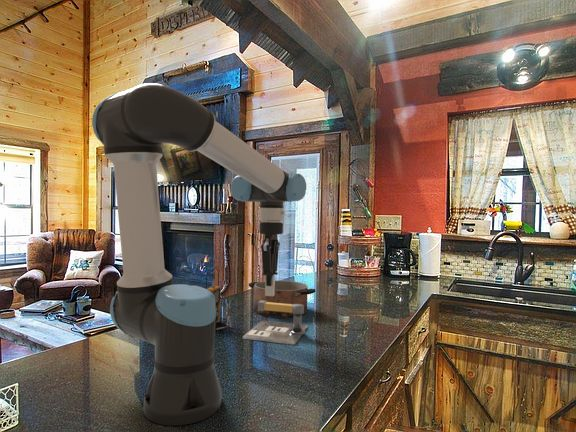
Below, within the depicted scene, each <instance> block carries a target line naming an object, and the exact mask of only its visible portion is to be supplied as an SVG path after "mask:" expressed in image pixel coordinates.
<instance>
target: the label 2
mask: <svg viewBox="0 0 576 432" xmlns="http://www.w3.org/2000/svg"><path fill="white" fill-rule="evenodd" d="M288 330H289V328H283V327H274V326H269V327H268V328H267V329H266V330H265V331H267V332H274V333H283V334H285V333H286V332H287V331H288Z"/></svg>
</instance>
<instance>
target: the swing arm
mask: <svg viewBox="0 0 576 432" xmlns="http://www.w3.org/2000/svg"><path fill="white" fill-rule="evenodd" d="M264 310H269V311H279V312H289V313H293V314H303V313H304V305H302V304H283V303H272V302H266V301H263V300H261V301H259V302H258V311H264ZM303 315H304V314H303Z"/></svg>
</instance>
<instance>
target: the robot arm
mask: <svg viewBox="0 0 576 432" xmlns="http://www.w3.org/2000/svg"><path fill="white" fill-rule="evenodd" d="M91 120H92V121H91V125H92V126H91V127H92V130H93V133H94V136H95V137H96V138H97V140H99V142H100V143H101V144H102V145H103V149H104V157H105V158H106V159H107V160H109V161H110V163H112V166H113V169H114V170H113V171H114V182H115V192H116V193H115V194H116V205H117V215H118V216H117V218H118V227H119V237H120V239H119V241H120V247H121V249H120V251H121V259H122V272H123V274H122V276H121V277H119V279H118V280H117V281H116V289H117V290H116V292H115V295H114V296H113V297H112V299H111V300H110V301H111V302H110V306H109V313H110V314H109V315H110V319H111V321H112V323H113V325H114V326H115V327H116V328H117V329H118V330H119V331H121V332H122V333H124V334H125V335H126V336H129V337H132V338H135V339H138V340H141V341H144V342H146V343H148V344H151V345H153V346H154V363H153V366H154V369H153V372H152V375H151V377H150V380H149V382H148V385H147V386H148V387H147V389H146V392H145V394H144V397H143V407H142V408H143V409H142V411H143V415H144V416H145V418H147V420H149V421H151V422H152V423H155V424H158V425H162V426H185V425H190V424H195V423H198V422H201V421H204V420H206V419H208V418H209V417H212V416H213V415H214V414H216V413H217V412H218V411H219V409H220V407H221V406H222V395H223V393H222V388H221V385H220V380H219V377H218V375H217V374H218V373H217V370H216V368H215V367H216V366H215V350H216V349H215V347H216V330H215V329H216V325H217V323H216V313H217V312H216V306H215V297H214V295H213V294H212V293H211V292H210V291H209V290H207V289H206V287H202V286H198V285H189V284H184V283H181V284H179V283H178V284H176V283H175V284H174V282H173V274H172V273H170V272H169V271H168V270H167V269H166V268H165V258H164V256H165V255H164V246H163V245H164V244H163V234H162V221H161V219H162V218H161V209H160V208H161V207H160V195H159V194H160V193H159V183H158V182H159V181H158V170H157V169H158V168H157V164H158V162H159V161H160V159H162V157H163V156H164V153H163V144H168V145H170V144H171V145H174V146H178V147H180V148H182V149H184V150H185V151H187V152H191V153H192V152H196V151H197V153H200V154H202V155H204V156H205V157H206V158H209V159H210V160H212V161H214V162H215V163H217V164H219V165H220V166H222V167H223V168H225V169H226V170H229V171H230V172H232V173H233V174H235V175H236V176H234V178H233V179H232V181H231V182H230V194H231V197H232V198H233V199H234V200H236V201H237V202H238V201H239V202H243V203H245V202H249V203H251V202H252V203H259V221H260V222H259V228H258V229H259V230H258V232H259V234H261V235H264V239H263V242H262V244H260V245H261V246H260V249H261V256H262V258H261V259H262V261H261V262H262V275H263V276H265V277H264V278H265V280H264V281H265V296H274V295H275V281H276V275H278V264H279V262H278V261H279V254H280V253H279V250H280V246H281V242H279V240H278V235H283V233H284V223H283V221H284V215H285V214H286V213H285V211H284V202H285V203H286V202H288V203H291V202H298V201H301V200H303V199H304V197H305V195H306V192H307V182H306V179H305V177H304V176H303V175H302V174H301V173H297V172H296V173H295V172H291V173H288V172H286V171H285V170H284V169H282V168H281V167H279V166H278V165H277V164H275V163H274V162H272V160H270V159H268V158H267V157H266V156H265V155H263V154H262V153H260V152H259V151H257V150H256V149H254V148H253V147H252V146H250V145H249V144H248V143H246V142H245V141H244V140H242V139H241V138H239V137H238V136H237V135H235V134H234V133H233V132H232V131H230V130H229V129H227V128H226V127H225V126H223V125H222V124H221V123H219V122H218V121H217V120H216V116H215V114H214V113H213V112H212V111H211V110H210V109H208V108H207V107H205V106H204V105H203V104H202V103H200V102H199V101H197V100H195V99H194V98H192V97H191V96H188V95H187V94H185V93H184V92H181V91H179V90H177V89H175V88H173V87H170V86H167V85H165V84H160V83H155V82H154V83H153V82H150V83H142V84H139V85H137V86H134V87H132V88H128V89H126V90H125V91H124V90H123V91H121V92H116V93H113V94H111V95H108V96H107V97H106V98H104V99H103V100H102V101H100V102H99V103H98V104H97V105H96V107H95V108H94V111H93V113H92V119H91Z"/></svg>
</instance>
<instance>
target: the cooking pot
mask: <svg viewBox="0 0 576 432" xmlns="http://www.w3.org/2000/svg"><path fill="white" fill-rule="evenodd" d="M248 287H250V288H252V289H253V310H254V312H255V313H256V312H257V313H256V314H258V315H261V316H264V315H265V316H266V317H270V316H271V318H293V315H294V314H293V313H289V312H279V311H269V310H264V311H258V302H259V301H261V300H263V301H266V302H272V303H283V304H302V305H304V313H305V314H306V313H307V312H308V295H311V294H315V293H316V288H308V287H309V286H308V285H307V284H305V283H303V282H298V281H293V280H275V295H274V296H265V280H264V281H253V282H249V283H248ZM304 313H303V315H304Z"/></svg>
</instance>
